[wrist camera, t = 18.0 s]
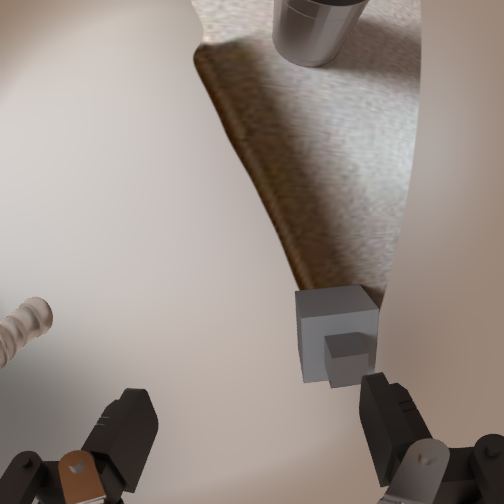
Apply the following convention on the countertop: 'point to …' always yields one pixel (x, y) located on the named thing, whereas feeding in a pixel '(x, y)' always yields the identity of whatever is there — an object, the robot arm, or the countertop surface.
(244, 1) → the countertop surface
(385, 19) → the countertop surface
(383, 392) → the robot arm
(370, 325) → the stepped gray cube pair
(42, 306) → the plastic bottle
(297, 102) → the countertop surface
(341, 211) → the countertop surface
